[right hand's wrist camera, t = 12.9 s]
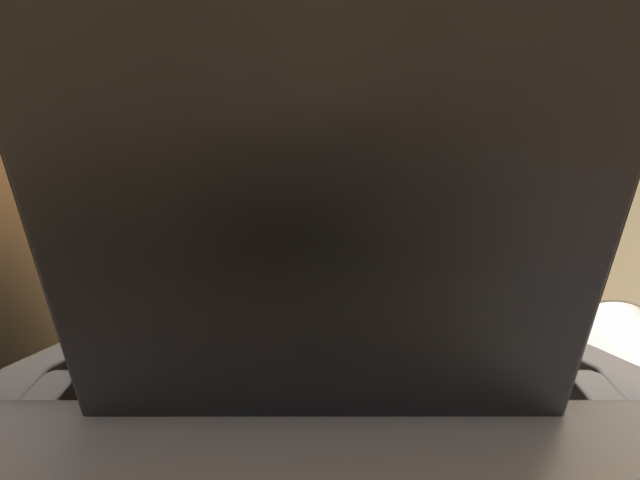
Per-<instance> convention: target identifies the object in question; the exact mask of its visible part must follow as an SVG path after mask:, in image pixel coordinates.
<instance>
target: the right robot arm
mask: <svg viewBox="0 0 640 480" xmlns="http://www.w3.org/2000/svg"><path fill="white" fill-rule="evenodd" d="M0 480H640V308H639V307H637V306H635V305H632V304H628V303H623V302H605V303H600V304H599V307H598V310H597V313H596V317H595V320H594V323H593V326H592V329H591V332H590V335H589V338H588V342H587V345H586V348H585V351H584V354H583V357H582V360H581V363H580V367H579V370H578V373H577V376H576V379H575V382H574V385H573V388H572V391H571V395H570V398H569V401H568V404H567V407H566V410H565V413H564V415H563V416H561V417H85V416H83V415H82V413H81V409H80V406H79V403H78V400H77V397H76V393H75V390H74V387H73V384H72V381H71V377H70V374H69V371H68V368H67V365H66V362H65V358H64V355H63V352H62V349H61V346H60V343H58V344H56V345H53V346H51V347H49V348H47V349H44V350H42V351H40V352H38V353H35V354H33V355H31V356H29V357H26V358H24V359H22V360H20V361H17V362H15V363H13V364H11V365H8V366H6V367H4V368H2V369H1V370H0Z"/></svg>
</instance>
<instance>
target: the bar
mask: <svg viewBox="0 0 640 480" xmlns="http://www.w3.org/2000/svg"><path fill="white" fill-rule="evenodd" d="M0 154H1V157H2V160H3V164H4V167H5V170H6V173H7V177H8V180H9V183H10V186H11V189H12V193H13V196H14V199H15V202H16V205H17V208H18V212H19V215H20V218H21V221H22V224H23V228H24V231H25V234H26V237H27V240H28V244H29V247H30V250H31V253H32V256H33V259H34V263H35V266H36V269H37V272H38V275H39V279H40V282H41V285H42V288H43V291H44V294H45V298H46V301H47V304H48V307H49V310H50V314H51V317H52V320H53V323H54V326H55V329H56V333H57V336H58V339H59V342H60V346H61V349H62V352H63V355H64V358H65V362H66V365H67V368H68V371H69V374H70V377H71V381H72V384H73V387H74V390H75V393H76V397H77V400H78V403H79V406H80V409H81V413H82V415H83V416H85V417H561V416H563V415H564V413H565V410H566V407H567V404H568V401H569V398H570V395H571V391H572V388H573V385H574V382H575V379H576V376H577V373H578V370H579V367H580V363H581V360H582V357H583V354H584V351H585V348H586V345H587V342H588V338H589V335H590V332H591V329H592V326H593V323H594V320H595V317H596V313H597V310H598V307H599V304H600V301H601V298H602V295H603V292H604V288H605V285H606V282H607V279H608V276H609V273H610V270H611V267H612V264H613V260H614V257H615V254H616V251H617V248H618V245H619V242H620V239H621V235H622V232H623V229H624V226H625V223H626V220H627V217H628V214H629V210H630V207H631V204H632V201H633V198H634V195H635V192H636V189H637V185H638V182H639V179H640V0H0Z"/></svg>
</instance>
